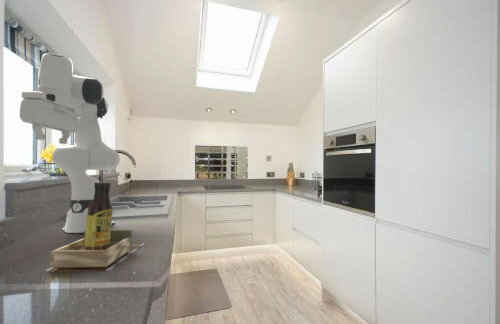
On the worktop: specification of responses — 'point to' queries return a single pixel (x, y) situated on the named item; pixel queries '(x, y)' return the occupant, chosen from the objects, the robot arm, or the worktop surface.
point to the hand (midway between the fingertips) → (52, 141)
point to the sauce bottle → (99, 219)
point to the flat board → (70, 269)
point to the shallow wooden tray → (92, 252)
